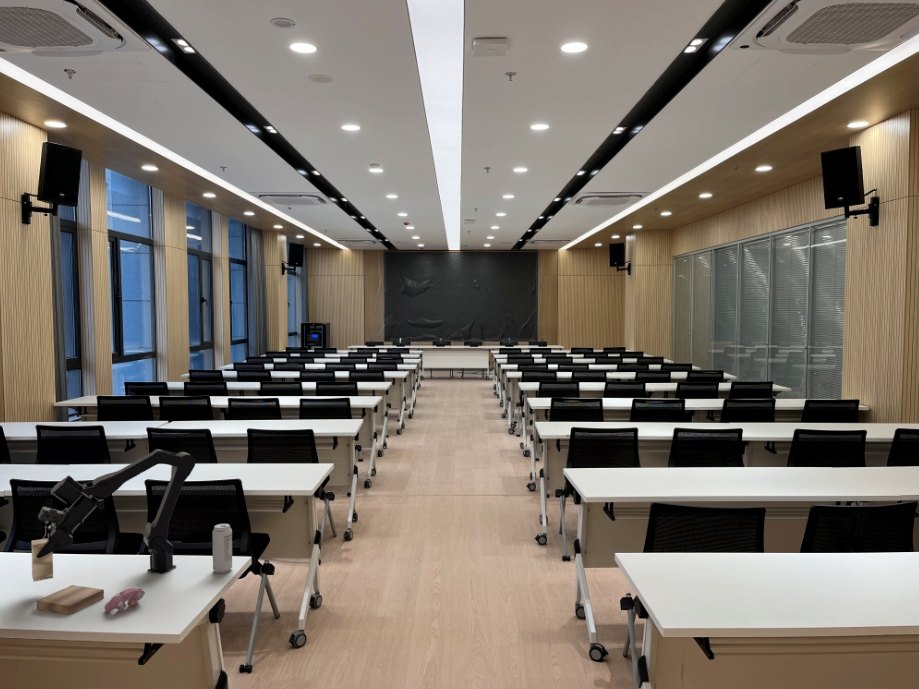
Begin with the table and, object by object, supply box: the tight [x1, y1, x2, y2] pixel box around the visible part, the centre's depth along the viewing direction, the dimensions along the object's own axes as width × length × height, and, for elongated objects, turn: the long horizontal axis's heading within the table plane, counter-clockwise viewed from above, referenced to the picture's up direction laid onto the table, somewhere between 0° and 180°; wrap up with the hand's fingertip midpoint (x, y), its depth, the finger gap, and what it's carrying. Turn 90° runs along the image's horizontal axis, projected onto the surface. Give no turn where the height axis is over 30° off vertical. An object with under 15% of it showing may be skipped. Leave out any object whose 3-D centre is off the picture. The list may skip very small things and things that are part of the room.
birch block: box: [31, 538, 54, 583], centre depth 201 cm, size 5×5×11 cm
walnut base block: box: [36, 584, 105, 615], centre depth 194 cm, size 12×12×2 cm
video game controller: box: [104, 586, 146, 613], centre depth 191 cm, size 10×5×7 cm, turn 149°
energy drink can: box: [212, 523, 233, 574], centre depth 220 cm, size 6×6×15 cm
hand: (36, 554), depth 200 cm, fingers closed on birch block, 5 cm apart
